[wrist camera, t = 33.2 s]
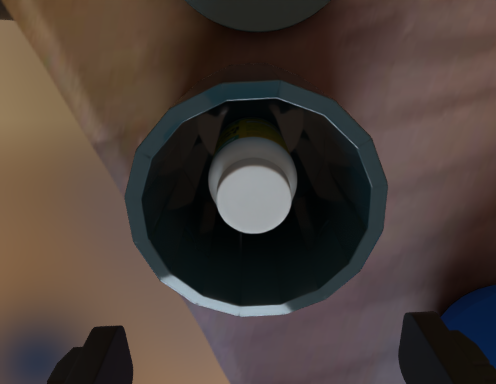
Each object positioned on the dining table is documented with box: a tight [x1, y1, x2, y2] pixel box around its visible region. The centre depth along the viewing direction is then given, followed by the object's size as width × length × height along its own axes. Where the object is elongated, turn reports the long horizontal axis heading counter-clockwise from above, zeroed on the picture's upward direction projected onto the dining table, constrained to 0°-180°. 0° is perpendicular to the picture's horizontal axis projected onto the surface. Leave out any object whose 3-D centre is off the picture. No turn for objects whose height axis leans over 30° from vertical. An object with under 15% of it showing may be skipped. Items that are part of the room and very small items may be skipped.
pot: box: [125, 63, 388, 317], centre depth 23 cm, size 13×13×12 cm
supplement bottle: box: [208, 117, 297, 233], centre depth 24 cm, size 5×5×10 cm
